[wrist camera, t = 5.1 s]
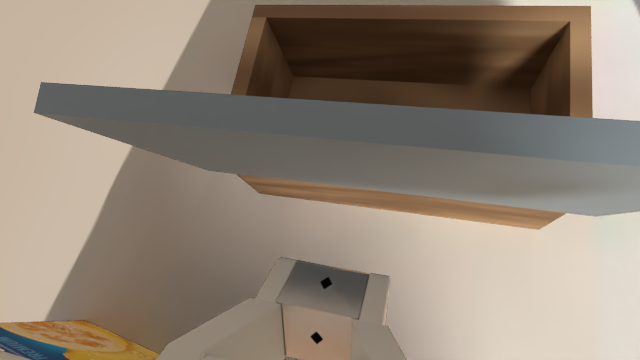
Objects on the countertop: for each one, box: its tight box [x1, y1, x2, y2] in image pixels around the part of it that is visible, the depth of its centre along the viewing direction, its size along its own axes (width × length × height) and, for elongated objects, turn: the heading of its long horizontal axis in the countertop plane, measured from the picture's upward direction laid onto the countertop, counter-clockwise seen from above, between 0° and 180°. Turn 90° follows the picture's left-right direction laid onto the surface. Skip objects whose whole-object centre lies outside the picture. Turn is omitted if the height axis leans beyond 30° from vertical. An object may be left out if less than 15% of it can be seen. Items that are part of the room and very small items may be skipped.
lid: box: [34, 82, 640, 216], centre depth 15 cm, size 11×20×1 cm
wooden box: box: [231, 5, 593, 229], centre depth 26 cm, size 11×20×8 cm, turn 80°
